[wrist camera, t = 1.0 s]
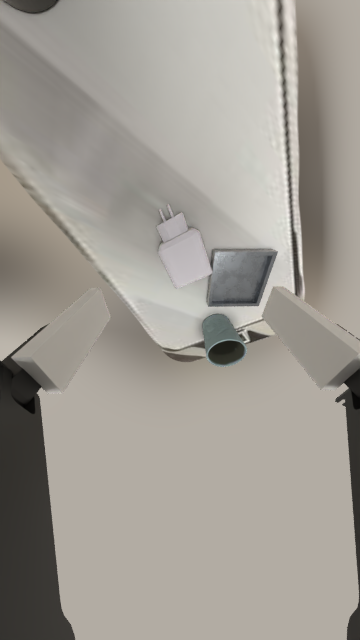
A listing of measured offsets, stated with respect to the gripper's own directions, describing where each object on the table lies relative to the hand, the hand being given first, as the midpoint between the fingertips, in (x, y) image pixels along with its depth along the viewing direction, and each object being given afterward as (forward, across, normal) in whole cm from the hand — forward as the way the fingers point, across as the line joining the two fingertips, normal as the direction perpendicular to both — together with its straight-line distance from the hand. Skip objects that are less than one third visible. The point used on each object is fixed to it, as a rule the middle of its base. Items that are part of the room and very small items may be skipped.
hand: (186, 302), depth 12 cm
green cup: (+27, +11, -23) cm, 37 cm away
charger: (+27, 0, 0) cm, 27 cm away
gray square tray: (+26, +14, -8) cm, 31 cm away
